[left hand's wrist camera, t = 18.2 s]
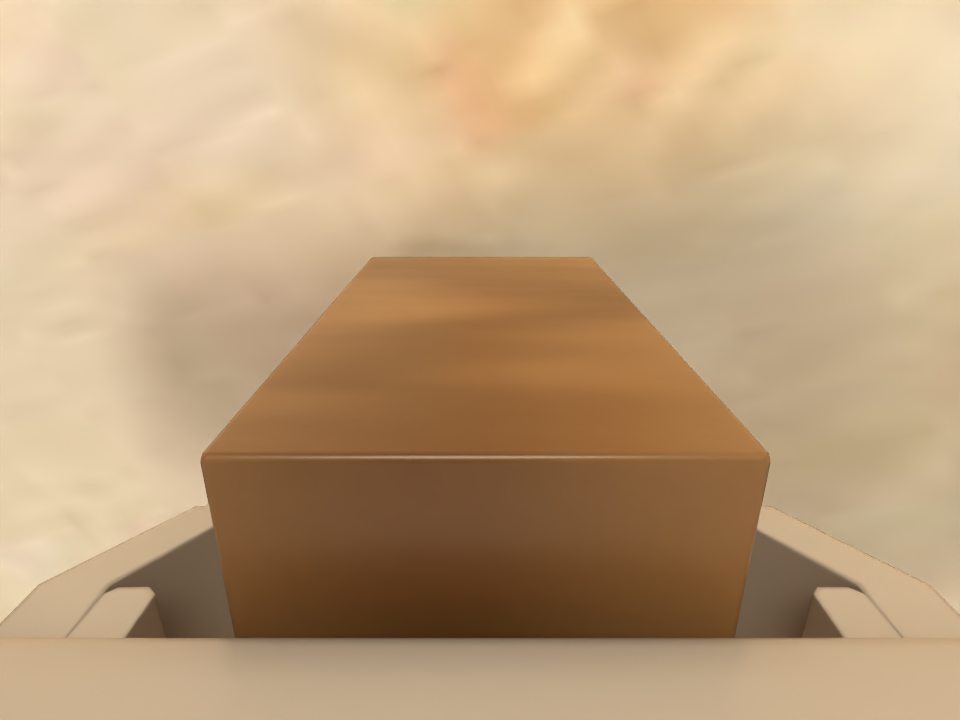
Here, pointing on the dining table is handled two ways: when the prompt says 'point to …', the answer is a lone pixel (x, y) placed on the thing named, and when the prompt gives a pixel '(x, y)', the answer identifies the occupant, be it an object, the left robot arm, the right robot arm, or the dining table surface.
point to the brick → (484, 467)
